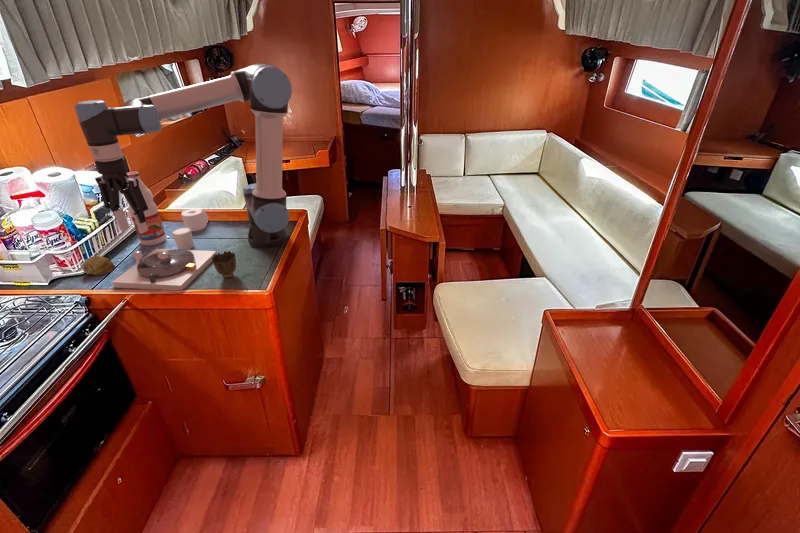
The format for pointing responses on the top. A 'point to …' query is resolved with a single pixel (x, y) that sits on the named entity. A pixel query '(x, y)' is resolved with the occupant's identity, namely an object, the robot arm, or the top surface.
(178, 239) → the pale pink cylinder
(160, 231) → the fruit juice
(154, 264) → the flange plate
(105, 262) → the seashell
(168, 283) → the base plate
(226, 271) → the cup
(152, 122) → the robot arm
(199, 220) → the toilet paper
